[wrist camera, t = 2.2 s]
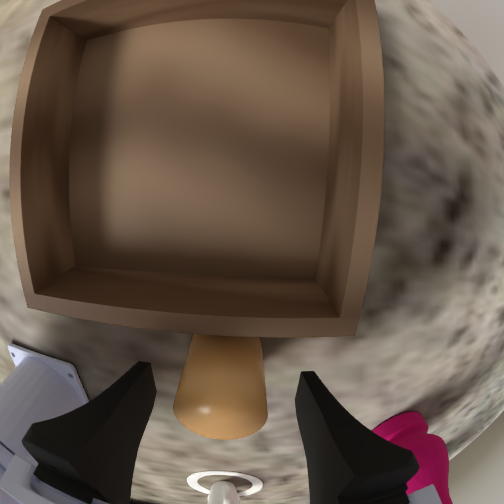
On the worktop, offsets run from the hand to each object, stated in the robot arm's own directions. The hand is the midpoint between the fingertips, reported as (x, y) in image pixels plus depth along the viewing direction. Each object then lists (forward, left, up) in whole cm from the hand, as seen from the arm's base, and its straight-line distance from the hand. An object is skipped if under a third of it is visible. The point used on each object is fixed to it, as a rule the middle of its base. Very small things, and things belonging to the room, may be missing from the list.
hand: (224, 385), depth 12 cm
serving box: (+11, +2, -3) cm, 11 cm away
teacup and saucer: (-21, +3, -4) cm, 22 cm away
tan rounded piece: (0, 0, -3) cm, 3 cm away
